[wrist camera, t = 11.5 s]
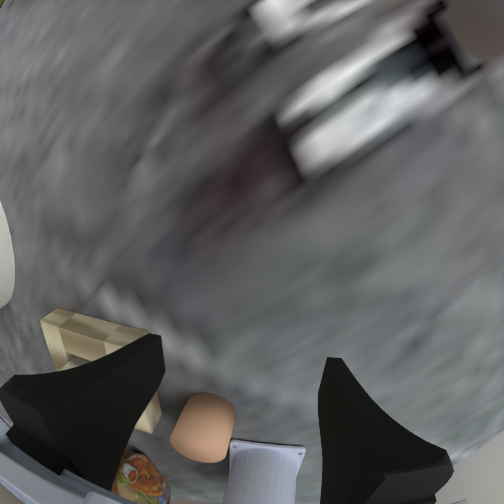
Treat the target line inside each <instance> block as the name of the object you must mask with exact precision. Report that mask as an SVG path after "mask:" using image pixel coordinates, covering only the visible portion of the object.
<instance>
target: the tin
mask: <svg viewBox="0 0 504 504" xmlns="http://www.w3.org/2000/svg"><path fill="white" fill-rule="evenodd" d="M111 492H112V493H114V494H117V495H119V496H122V497H124V498H127V499H129V500H132V501H134V502H137V503H140V504H169V503H170V488H169V485H168V483H167V482H166V481H165V479H164V478H163V477H162V476H161V474H160V473H159V472H158V471H157V469H156V468H155V466H154V465H153V464H152V462H151V461H150V460H149V458H148V457H147V456H145V455H143V454H139V453H135V452H131V451H124V453H123V455H122V458H121V461H120V464H119V467H118V469H117V472H116V475H115V479H114V482H113V486H112V490H111Z"/></svg>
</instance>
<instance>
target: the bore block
mask: <svg viewBox="0 0 504 504" xmlns="http://www.w3.org/2000/svg"><path fill="white" fill-rule="evenodd" d="M40 322H41V326H42V329H43V333H44V336H45V339H46V343H47V346H48V349H49V352H50V355H51V358H52V361H53V364H54V366H55V369H56V372H57V371H60V370H61V369H62V368H63V367H64V366H65V365H66V364H67V363H68V362H69V361H70V360H71V359H72V358H73V357H74V356H75V355H76V356H79V357H81V358H84V359H87V360H90V361H94V360H97V359H99V358H101V357H103V356H105V355H108V354H110V353H112V352H114V351H116V350H118V349H120V348H122V347H124V346H125V345H127V344H129V343H131V342H133V341H135V340H137V339H139V338H140V337H142V336H144V335H146V334H148V331H147V330H143V329H138V328H134V327H129V326H125V325H121V324H117V323H112V322H108V321H104V320H100V319H97V318H93V317H89V316H85V315H82V314H78V313H75V312H71V311H68V310H64V309H61V308H57V309H55V310H54V311H53V312H51V313H50V314H48V315H47V316H45V317H44V318H42V319H41V320H40ZM161 415H162V413H161V408H160V403H159V398H158V393H157V391H156V393H155V394H154V396H153V398H152V399H151V401H150V403H149V404H148V406H147V407H146V409H145V411H144V412H143V414H142V415H141V417H140V419H139V420H138V422H137V424H136V426H135V427H134V428H135V429H138V430H142V431H145V432H148V433H151V434H152V432H153V430H154V428H155V426H156V425H157V423H158V421H159V419H160V417H161Z"/></svg>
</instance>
